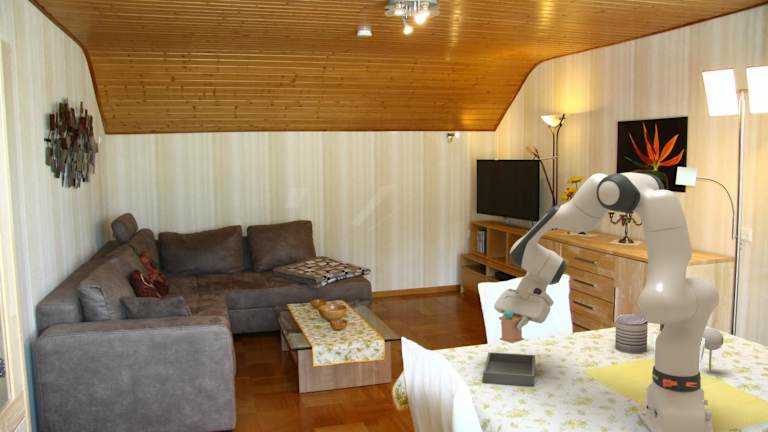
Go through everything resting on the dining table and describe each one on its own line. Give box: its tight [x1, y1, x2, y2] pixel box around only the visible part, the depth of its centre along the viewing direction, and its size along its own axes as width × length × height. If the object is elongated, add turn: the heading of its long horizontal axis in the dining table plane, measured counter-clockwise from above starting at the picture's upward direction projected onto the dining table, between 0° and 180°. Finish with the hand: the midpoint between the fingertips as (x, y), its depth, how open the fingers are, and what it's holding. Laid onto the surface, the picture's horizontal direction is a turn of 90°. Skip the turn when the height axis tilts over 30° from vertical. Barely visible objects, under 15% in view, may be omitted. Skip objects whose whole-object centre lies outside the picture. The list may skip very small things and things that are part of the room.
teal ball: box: [504, 310, 513, 319], centre depth 208 cm, size 3×3×3 cm
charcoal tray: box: [482, 351, 536, 387], centre depth 211 cm, size 20×16×4 cm
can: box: [614, 313, 649, 355], centre depth 233 cm, size 11×11×12 cm
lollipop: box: [703, 327, 724, 374], centre depth 208 cm, size 7×7×15 cm
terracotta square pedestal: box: [498, 315, 525, 344], centre depth 210 cm, size 6×6×8 cm
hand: (510, 327), depth 209 cm, fingers closed on terracotta square pedestal, 5 cm apart
